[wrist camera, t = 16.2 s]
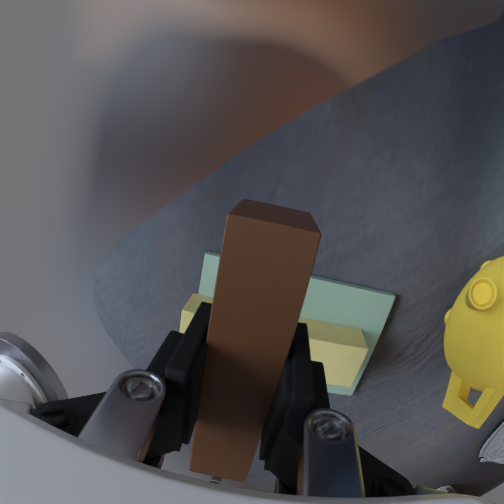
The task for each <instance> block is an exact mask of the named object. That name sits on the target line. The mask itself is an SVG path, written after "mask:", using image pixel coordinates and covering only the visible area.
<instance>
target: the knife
mask: <svg viewBox="0 0 504 504" xmlns="http://www.w3.org/2000/svg"><path fill="white" fill-rule="evenodd" d="M320 239H321V232H320V230H319V229H318V227H317V225H316V223H315V221H314V219H313V217H312V215H311V214H310V213H308V212H304V211H299V210H295V209H290V208H286V207H281V206H276V205H271V204H267V203H262V202H257V201H252V200H247V199H243V200H242V201H241V202H239V203H238V204H237V205H236V206H235V207H234V208H233V209H232V210H231V211H230V212H229V213H228V214H227V218H226V223H225V229H224V235H223V241H222V246H221V252H220V258H219V264H218V270H217V276H216V282H215V289H214V295H213V301H212V307H211V314H210V320H209V327H208V334H207V340H206V344H207V345H208V349H207V355H206V362H205V368H204V375H203V382H202V389H201V396H200V403H199V410H198V417H197V420H196V423H195V427H194V435H193V443H192V452H191V460H190V469H189V470H190V471H194V472H198V473H202V474H206V475H211V476H212V477H211V481H210V482H212V483H216V484H220V483H221V479H222V478H224V479H230V480H235V481H240V482H244V481H245V479H246V476H247V474H248V471H249V469H250V466H251V463H252V461H253V458H254V455H255V452H256V450H257V447H258V444H259V441H260V439H261V436H262V429H263V426H264V424H265V421H266V418H267V415H268V412H269V409H270V406H271V403H272V400H273V397H274V394H275V391H276V388H277V385H278V382H279V379H280V375H281V372H282V369H283V366H284V363H285V361H286V360H287V357H288V354H289V351H290V347H291V344H292V341H293V337H294V334H295V331H296V327H297V324H298V320H299V317H300V314H301V310H302V306H303V303H304V299H305V296H306V292H307V288H308V285H309V281H310V277H311V274H312V270H313V266H314V262H315V258H316V254H317V251H318V247H319V243H320Z"/></svg>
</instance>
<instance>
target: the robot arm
mask: <svg viewBox="0 0 504 504" xmlns="http://www.w3.org/2000/svg"><path fill="white" fill-rule="evenodd" d="M211 307H212V303H207V302H203V301H202V302H201V304H200V305H199V307H198V309H197V311H196V313H195V314H194V316H193V318H192V320H191V322H190V323H189V325H188V327H187V329H186V331H185V333H180V332H176V331H173V330H172V331H170V333H169V334H168V336H167V337H166V339H165V340H164V342H163V344H162V345H161V347H160V348H159V350H158V352H157V353H156V355H155V357H154V358H153V360H152V361H151V363H150V365H149V366H148V368H147V369H146V370H141V369H135V370H129V371H125V372H123V373H121V374H120V375H119V376H118V377H117V378H116V379H115V380H114V382H113V384H112V385H111V386H110V388H109V389H108V391H107V392H103V393H98V394H92V395H87V396H82V397H76V398H70V399H65V400H58V401H52V402H48V401H47V398H46V396H45V394H44V392H43V390H42V388H41V387H40V385H39V384H38V382H37V381H36V380H35V378H34V377H33V376H32V375H31V374H30V372H29V371H28V370H27V369H26V368H25V367H24V366H23V365H21V364H20V363H19V362H18V361H16V360H15V359H13V358H11V357H9V356H7V355H0V504H496V503H494V502H492V501H490V500H488V499H484V498H482V497H476V496H471V495H465V494H452V493H448V492H443V491H439V490H435V489H431V488H427V487H423V486H419V485H417V486H416V487H415V488H412V485H411V484H410V482H409V481H408V480H407V479H406V478H405V477H403V476H402V475H401V474H399V473H397V472H396V471H395V470H393V469H392V468H390V467H389V466H387V465H386V464H384V463H383V462H381V461H380V460H378V459H377V458H376V457H374V456H373V455H371V454H370V453H368V452H367V451H366V450H364V449H363V448H361V447H360V446H359V445H358V443H357V437H356V432H355V427H354V425H353V423H352V421H351V420H350V419H349V418H348V417H347V416H345V415H344V414H342V413H340V412H338V411H336V410H332V409H330V404H329V398H328V391H327V384H326V378H325V371H324V365H323V363H322V362H318V361H312V360H311V353H310V344H309V336H308V327H307V323H302V322H298V324H297V327H296V331H295V334H294V337H293V341H292V344H291V347H290V351H289V354H288V357H287V360H286V361H285V363H284V366H283V369H282V372H281V375H280V379H279V382H278V385H277V388H276V391H275V394H274V397H273V400H272V403H271V406H270V409H269V412H268V415H267V418H266V421H265V424H264V426H263V429H262V436H261V445H260V455H259V459H260V460H265V466H264V470H270V471H271V472H272V473H273V474H274V475H275V476H276V477H277V478H276V482H275V490H274V493H270V492H262V491H255V490H249V489H243V488H237V487H231V486H225V485H221V484H216V483H212V482H207V481H203V480H199V479H195V478H190V477H186V476H183V475H179V474H176V473H172V472H168V471H165V470H162V469H161V466H162V463H163V460H164V454H167V453H170V452H172V451H180V448H181V445H182V443H184V444H189V442H190V439H191V435H192V432H193V429H194V426H195V423H196V420H197V417H198V410H199V403H200V396H201V389H202V382H203V375H204V368H205V362H206V355H207V349H208V345H207V344H206V340H207V334H208V327H209V320H210V314H211Z"/></svg>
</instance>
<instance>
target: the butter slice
mask: <svg viewBox="0 0 504 504" xmlns="http://www.w3.org/2000/svg"><path fill="white" fill-rule="evenodd" d="M202 301H203V302H207V303H212V301H213V298H211V297H207V296H203V295H199V294H195V293H193V294H192V296H191V297H190V299H189V300H188V302H187V303H186V305H185V307H184V308H183V310H182V315H181V324H180V333H185V331H186V329H187V327H188V325H189V323H190V322H191V320H192V318H193V316H194V314H195V313H196V311H197V309H198V307H199V305H200V304H201V302H202Z"/></svg>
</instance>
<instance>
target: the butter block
mask: <svg viewBox="0 0 504 504" xmlns="http://www.w3.org/2000/svg"><path fill="white" fill-rule="evenodd" d="M298 322H302V323H307V327H308V336H309V344H310V353H311V360H312V361H318V362H322V363H323V365H324V371H325V378H326V384H330V385H337V386H344V387H351V386H352V384H353V382H354V380H355V378H356V376H357V374H358V372H359V370H360V367H361V365H362V363H363V361H364V359H365V357H366V354H367V352H368V350H369V349H368V346H367V343H366V341H365V338H364V336H363V333H362V331H361V329H357V328H352V327H346V326H341V325H336V324H331V323H326V322H321V321H316V320H311V319H306V318H301V317H299V320H298Z"/></svg>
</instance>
